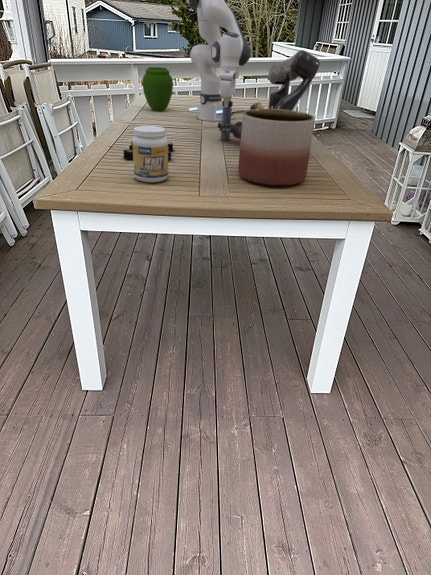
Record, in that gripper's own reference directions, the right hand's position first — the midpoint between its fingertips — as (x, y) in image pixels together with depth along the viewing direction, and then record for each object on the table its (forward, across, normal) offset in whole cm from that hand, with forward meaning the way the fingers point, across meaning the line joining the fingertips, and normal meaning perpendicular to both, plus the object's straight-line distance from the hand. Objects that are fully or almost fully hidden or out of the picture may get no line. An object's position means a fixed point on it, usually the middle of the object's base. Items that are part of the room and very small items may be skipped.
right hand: (222, 124), depth 202 cm
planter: (-60, +22, +7) cm, 64 cm away
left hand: (-3, 0, -9) cm, 9 cm away
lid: (-3, 0, -11) cm, 11 cm away
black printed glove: (-7, +44, +7) cm, 45 cm away
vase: (+85, -12, +7) cm, 86 cm away
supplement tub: (-40, +62, +7) cm, 74 cm away
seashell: (+45, -63, +7) cm, 78 cm away
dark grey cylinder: (-3, 0, +7) cm, 7 cm away
